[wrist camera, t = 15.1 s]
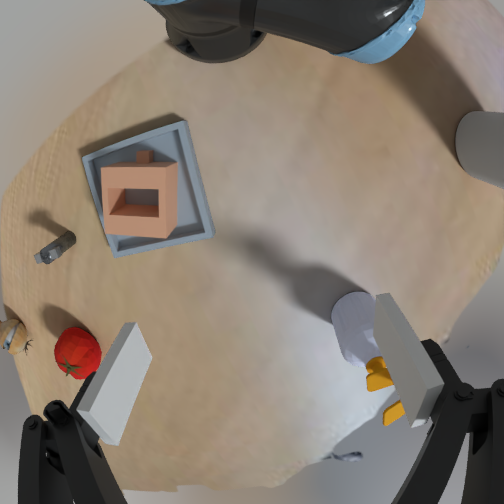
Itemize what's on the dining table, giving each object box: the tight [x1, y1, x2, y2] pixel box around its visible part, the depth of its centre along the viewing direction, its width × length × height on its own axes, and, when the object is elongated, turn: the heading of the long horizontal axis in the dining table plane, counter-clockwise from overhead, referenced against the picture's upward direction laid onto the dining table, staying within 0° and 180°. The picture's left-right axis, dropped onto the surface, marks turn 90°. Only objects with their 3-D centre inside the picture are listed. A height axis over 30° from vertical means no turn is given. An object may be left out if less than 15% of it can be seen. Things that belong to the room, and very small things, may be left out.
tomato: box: [54, 327, 102, 379], centre depth 54 cm, size 11×13×10 cm
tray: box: [82, 121, 215, 258], centre depth 43 cm, size 18×18×2 cm
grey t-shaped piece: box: [34, 231, 76, 264], centre depth 44 cm, size 3×6×8 cm, turn 102°
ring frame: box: [101, 150, 178, 238], centre depth 41 cm, size 10×12×6 cm
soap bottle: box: [331, 292, 405, 426], centre depth 41 cm, size 9×9×25 cm
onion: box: [0, 319, 32, 355], centre depth 55 cm, size 9×9×15 cm
